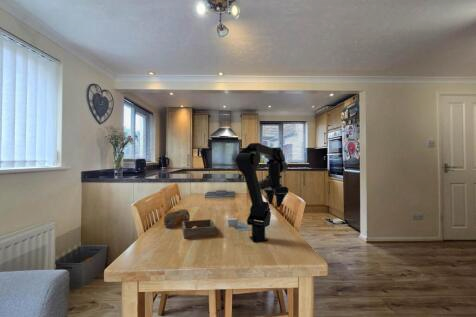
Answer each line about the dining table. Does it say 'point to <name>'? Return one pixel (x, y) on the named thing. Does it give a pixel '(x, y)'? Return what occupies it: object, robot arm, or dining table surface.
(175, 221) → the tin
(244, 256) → the dining table surface
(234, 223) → the lid
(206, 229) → the box
